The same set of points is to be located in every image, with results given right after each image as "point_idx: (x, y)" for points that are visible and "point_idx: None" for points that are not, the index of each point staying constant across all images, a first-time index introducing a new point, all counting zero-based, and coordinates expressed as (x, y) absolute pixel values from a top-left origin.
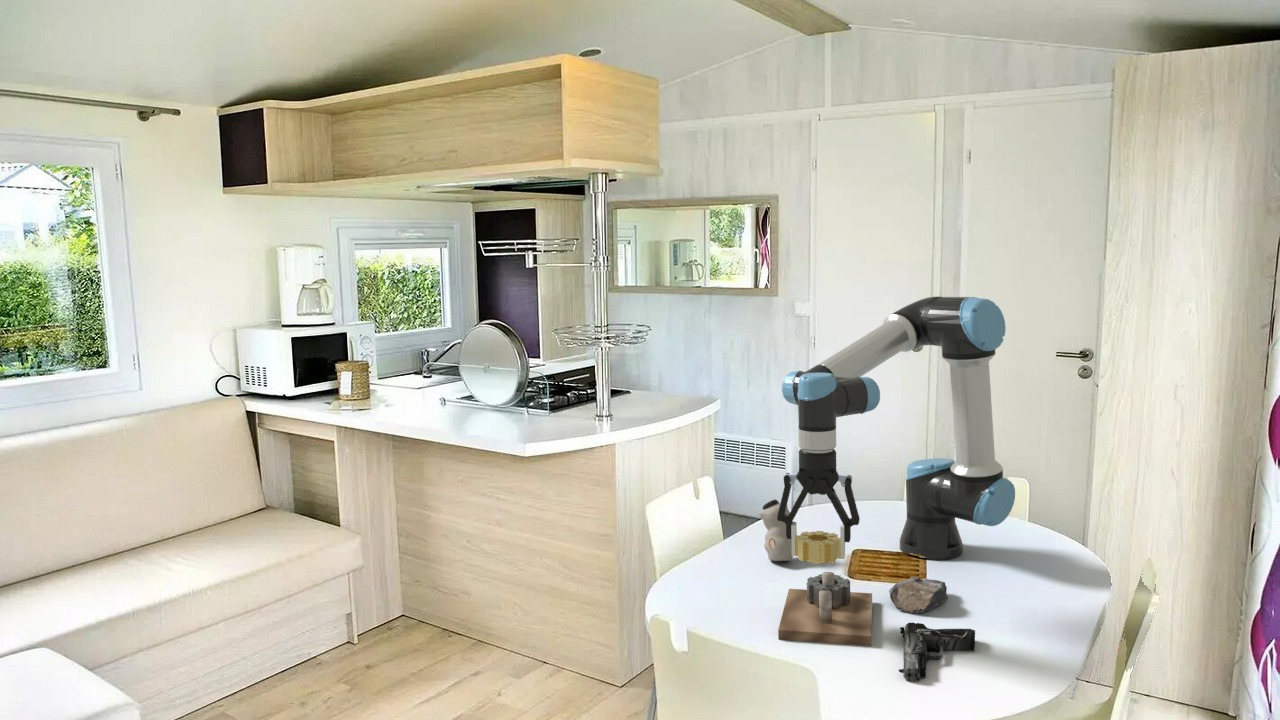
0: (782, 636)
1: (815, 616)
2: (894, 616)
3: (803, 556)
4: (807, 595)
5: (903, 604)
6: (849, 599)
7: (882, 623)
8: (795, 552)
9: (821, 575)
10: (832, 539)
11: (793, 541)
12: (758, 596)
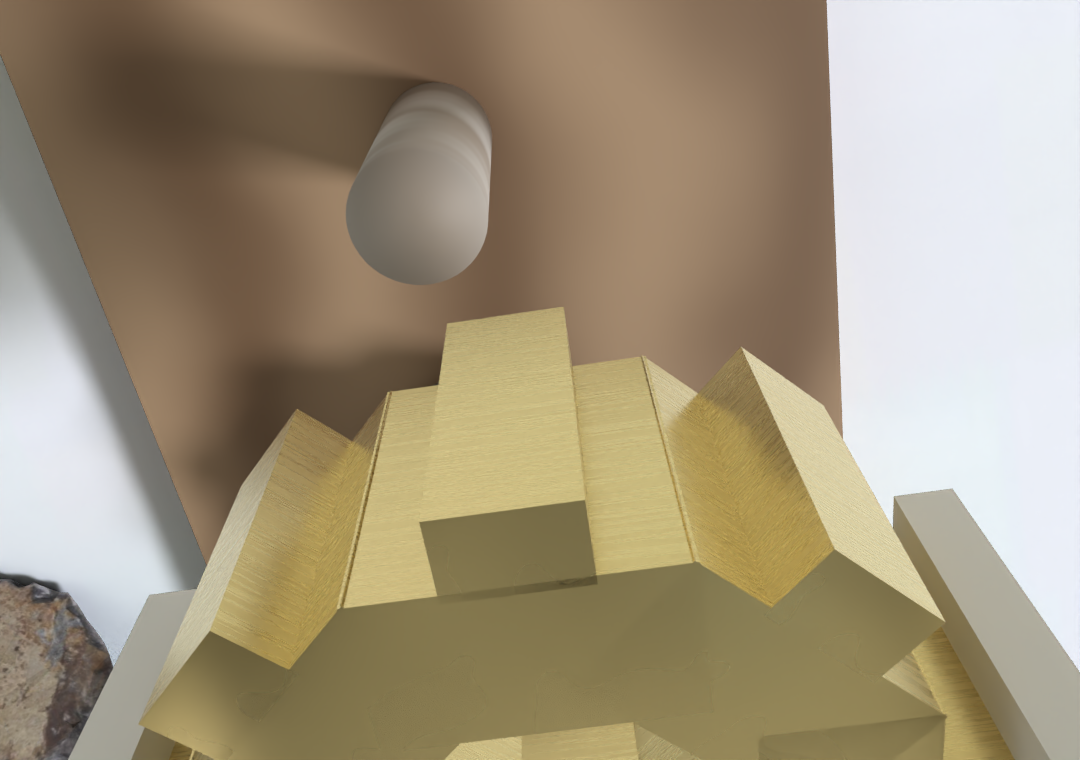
0: None
1: (543, 190)
2: (57, 504)
3: (749, 399)
4: None
5: (15, 626)
6: None
7: (86, 372)
8: (909, 554)
9: None
10: None
11: (1028, 666)
12: (1048, 524)
